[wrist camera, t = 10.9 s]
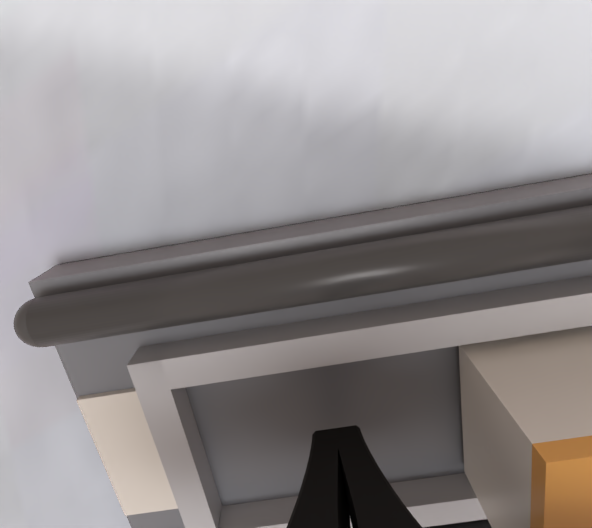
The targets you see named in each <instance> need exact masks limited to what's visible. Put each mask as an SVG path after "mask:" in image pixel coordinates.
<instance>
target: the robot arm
mask: <svg viewBox="0 0 592 528" xmlns="http://www.w3.org/2000/svg"><path fill="white" fill-rule="evenodd" d="M350 519H351V523H352V527H353V528H422V527H421V525H420V524H419V523H418V522H417V520H416V519H415V518H414V517H413V515H412V514H411V513H410V511H409V510H408V509H407V507H406V506H405V505H404V503H403V502H402V501H401V499H400V498H399V497H398V495H397V494H396V492H395V491H394V489H393V488H392V486H391V485H390V484H389V482H388V480H387V479H386V477H385V476H384V474H383V473H382V471H381V469H380V468H379V466H378V465H377V463H376V461H375V459H374V458H373V456H372V454H371V452H370V450H369V448H368V446H367V444H366V442H365V440H364V438H363V435H362V433H361V430H360V428H359V427H358V426H356V425H353V426H347V427H340V428H333V429H326V430H319V431H315V432H314V433H313V434H312V443H311V449H310V455H309V459H308V463H307V468H306V471H305V475H304V478H303V482H302V485H301V488H300V492H299V495H298V498H297V501H296V503H295V506H294V509H293V512H292V514H291V517H290V520H289V522H288V525H287V527H286V528H351V526H350Z"/></svg>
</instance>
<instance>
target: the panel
mask: <svg viewBox="0 0 592 528" xmlns="http://www.w3.org/2000/svg"><path fill="white" fill-rule="evenodd" d="M28 283H29V285H30V287H31V290H32V292H33V294H34V297H35V298H34V299H32V300H30V301H28V302H26V303H25V304H23V305H22V306H21V307H20V308H19V310H18V311H17V313H16V315H15V318H14V329H15V332H16V334H17V336H18V337H19V338H20V339H21V340H22V341H23V342H24V343H26V344H28V345H31V346H35V347H48V346H55V347H56V349H57V352H58V354H59V356H60V359H61V361H62V363H63V366H64V368H65V371H66V373H67V375H68V378H69V380H70V382H71V385H72V387H73V390H74V392H75V394H76V397H77V400H76V401H77V403H78V405H79V408H80V410H81V412H82V415H83V417H84V419H85V422H86V424H87V427H88V429H89V431H90V434H91V436H92V438H93V441H94V443H95V446H96V448H97V450H98V453H99V455H100V457H101V460H102V462H103V464H104V467H105V469H106V472H107V474H108V476H109V479H110V481H111V483H112V486H113V488H114V491H115V493H116V495H117V498H118V500H119V502H120V505H121V507H122V509H123V512H124V514H125V516H127V518H128V520H129V523H130V525H131V527H132V528H286V527H287V525H288V522H289V520H290V517H291V514H292V512H293V509H294V506H295V503H296V501H297V498H298V495H299V492H300V488H301V485H302V482H303V478H304V475H305V471H306V468H307V463H308V459H309V455H310V449H311V443H312V434H313V433H314V432H315V431H319V430H326V429H333V428H340V427H347V426H353V425H356V426H358V427H359V428H360V430H361V433H362V435H363V438H364V440H365V442H366V444H367V446H368V448H369V450H370V452H371V454H372V456H373V458H374V459H375V461H376V463H377V465H378V466H379V468H380V469H381V471H382V473H383V474H384V476H385V477H386V479H387V480H388V482H389V484H390V485H391V486H392V488H393V489H394V491H395V492H396V494H397V495H398V497H399V498H400V499H401V501H402V502H403V503H404V505H405V506H406V507H407V509H408V510H409V511H410V513H411V514H412V515H413V517H414V518H415V519H416V520H417V522H418V523H419V524H420V525H421V527H422V528H492V527H491V525H490V523H489V521H488V519H487V517H486V515H485V513H484V511H483V509H482V507H481V505H480V503H479V501H478V499H477V496H476V494H475V492H474V490H473V488H472V486H471V484H470V482H469V480H468V478H467V476H466V474H465V472H464V452H463V430H462V409H461V387H460V365H459V346H460V345H467V344H473V343H480V342H487V341H493V340H500V339H506V338H513V337H519V336H526V335H532V334H539V333H546V332H552V331H559V330H565V329H572V328H578V327H585V326H592V174H588V175H582V176H576V177H570V178H564V179H558V180H552V181H547V182H541V183H535V184H529V185H523V186H517V187H511V188H505V189H500V190H494V191H488V192H482V193H476V194H470V195H464V196H458V197H453V198H447V199H441V200H435V201H429V202H423V203H417V204H411V205H406V206H400V207H394V208H388V209H382V210H376V211H370V212H364V213H359V214H353V215H347V216H341V217H335V218H329V219H323V220H318V221H312V222H306V223H300V224H294V225H288V226H282V227H276V228H271V229H265V230H259V231H253V232H247V233H241V234H235V235H229V236H224V237H218V238H212V239H206V240H200V241H194V242H188V243H182V244H177V245H171V246H165V247H159V248H153V249H147V250H141V251H135V252H130V253H124V254H118V255H112V256H106V257H100V258H94V259H89V260H83V261H77V262H71V263H65V264H59V265H56V266H54V267H52V268H51V269H49V270H48V271H46V272H44V273H43V274H41V275H40V276H38V277H36V278H35V279H33V280H31V281H30V282H28ZM350 526H351V528H353V527H352V523H351V519H350Z"/></svg>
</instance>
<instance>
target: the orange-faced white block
mask: <svg viewBox="0 0 592 528" xmlns="http://www.w3.org/2000/svg"><path fill="white" fill-rule="evenodd" d="M459 365H460V387H461V409H462V430H463V452H464V472H465V474H466V476H467V478H468V480H469V482H470V484H471V486H472V488H473V490H474V492H475V494H476V496H477V499H478V501H479V503H480V505H481V507H482V509H483V511H484V513H485V515H486V517H487V519H488V521H489V523H490V525H491V527H492V528H592V326H585V327H578V328H572V329H565V330H559V331H552V332H546V333H539V334H532V335H526V336H519V337H513V338H506V339H500V340H493V341H487V342H480V343H473V344H467V345H460V346H459Z"/></svg>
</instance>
